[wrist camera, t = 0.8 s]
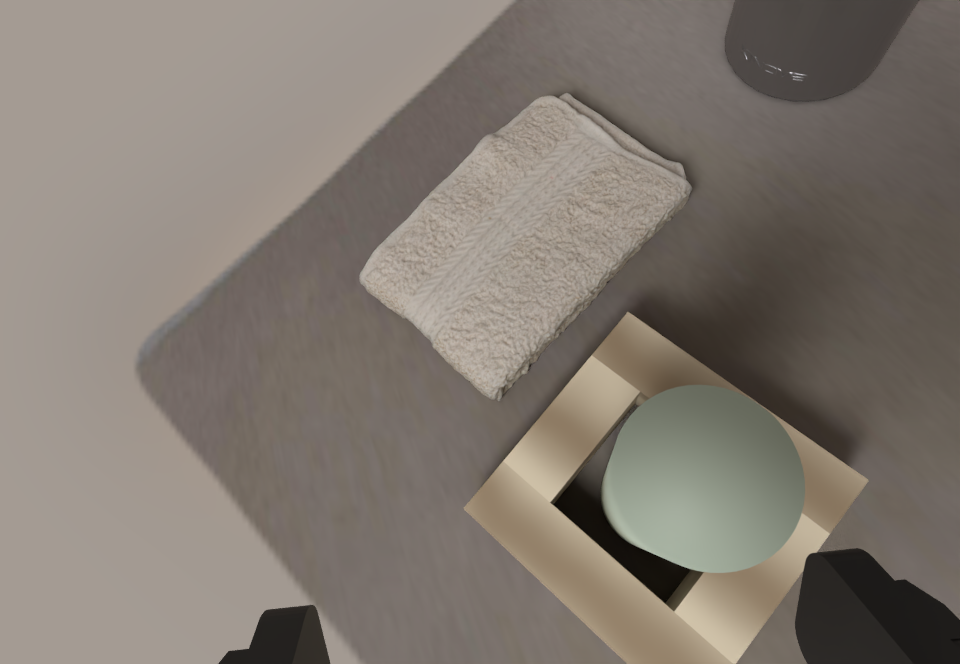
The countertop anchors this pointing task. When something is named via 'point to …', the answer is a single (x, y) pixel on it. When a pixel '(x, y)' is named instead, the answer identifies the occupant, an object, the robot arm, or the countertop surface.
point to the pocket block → (600, 577)
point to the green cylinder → (704, 480)
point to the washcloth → (524, 238)
